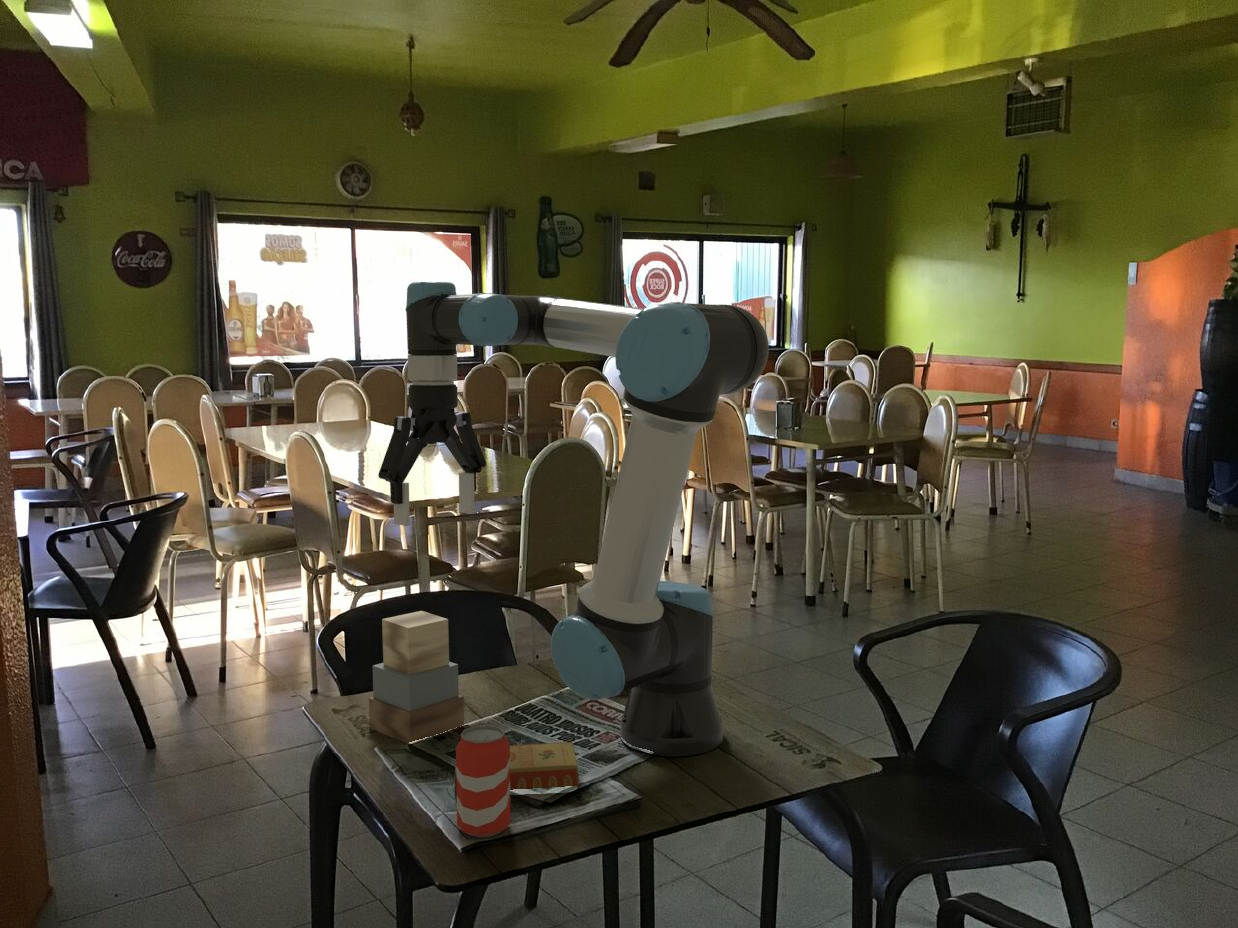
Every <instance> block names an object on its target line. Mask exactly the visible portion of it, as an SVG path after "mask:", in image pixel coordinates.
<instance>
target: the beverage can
mask: <svg viewBox="0 0 1238 928" xmlns="http://www.w3.org/2000/svg"><path fill="white" fill-rule="evenodd" d="M505 734H506V731H505V730H504V729H502V728H501V727H499V726H493V725H489V724H487V725H484V724H483V725H473V726H471V727H468V728H465V729H464V730H462V732H461V733H460V738H461V739H460V740H459V741H458V744H457V745H456V748H455V766H456V778H457V798H456V826H457V827H458V828H459V829H460V830H461V831H462V832H463V833H465V834H467V835H469V836H470V837H471V836H472V837H475V838H479V839H480V838H489V837H493V836H495V835H499V834H501V833H502V832H503V831H505V830H507V829H508V827H509V825H510V823H511V796H510V742H509V740H508V739H507V738H506V736H505Z"/></svg>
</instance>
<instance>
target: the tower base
mask: <svg viewBox="0 0 1238 928" xmlns="http://www.w3.org/2000/svg"><path fill="white" fill-rule="evenodd" d="M464 699H465V698H464V695H461V694H459V697H455V698H452V699H449V700H446V701H443V702H440V703H437V704H433V705H430V706H427V707H424V708H421V709H418V710H415V711H411V712H409V711H406V710H404V709H401V708H399V707H396V706H393V705H391V704H388V703H386V702H383V701H381V700H378V699H375V698H373V696H370V697H369V698H368V717H369V720H368V721H369V729H371V730H374V731H376V732H378V733H381V734H383V735H386V736H387V737H391V738H393V739H396V740H398V741H400V742H402V743H405V744H407V745H409V744H408V743H409V742H412V741H415V740H419V739H423V738H425V737H430V736H434V735H436V734H440V733H443V732H445V731H448V730H450V729H454V728H456V727H460V726H462V725H464V726H465V713H464V711H465V709H464V706H465V705H464V704H465V703H464V702H465V701H464ZM460 728H461V727H460ZM443 734H444V733H443ZM440 735H441V734H440Z"/></svg>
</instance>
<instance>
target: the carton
mask: <svg viewBox="0 0 1238 928" xmlns="http://www.w3.org/2000/svg"><path fill="white" fill-rule="evenodd" d="M578 771H579V770H578V762H577V758H576V751H575V747H574V743H573V741H569V742H568V741H563V742H562V741H561V742H560V741H559V742H547V743H546V742H545V743H530V744H527V743H526V744H512V745H510V790H513V789H533V788H552V787H565V786H578V787H579V772H578ZM453 786H454V798H455V797H457V778H456V765H455V769H454V783H453Z"/></svg>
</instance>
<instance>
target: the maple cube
mask: <svg viewBox="0 0 1238 928" xmlns="http://www.w3.org/2000/svg"><path fill="white" fill-rule="evenodd" d="M381 623H382V624H381V625H382V629H381V631H382V656H383V662H382V663H383V664H384V665H386V666H388V667H391V668H393V669H396V670H398V671H401V672H403V673H406V674H408V675H411V674H415V673H419V672H423V671H427V670H431V669H434V668H438V667H442V666H446V665H449V662H450V645H449V641H450V639H449V619H448V618H445V617H442V616H439V615H437V614H436V615H435V614H433V613H430V612H427V611H424V610H419V611H414V612H409V613H404V614H399V615H395V616H391V617H386V618H382V619H381Z"/></svg>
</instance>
